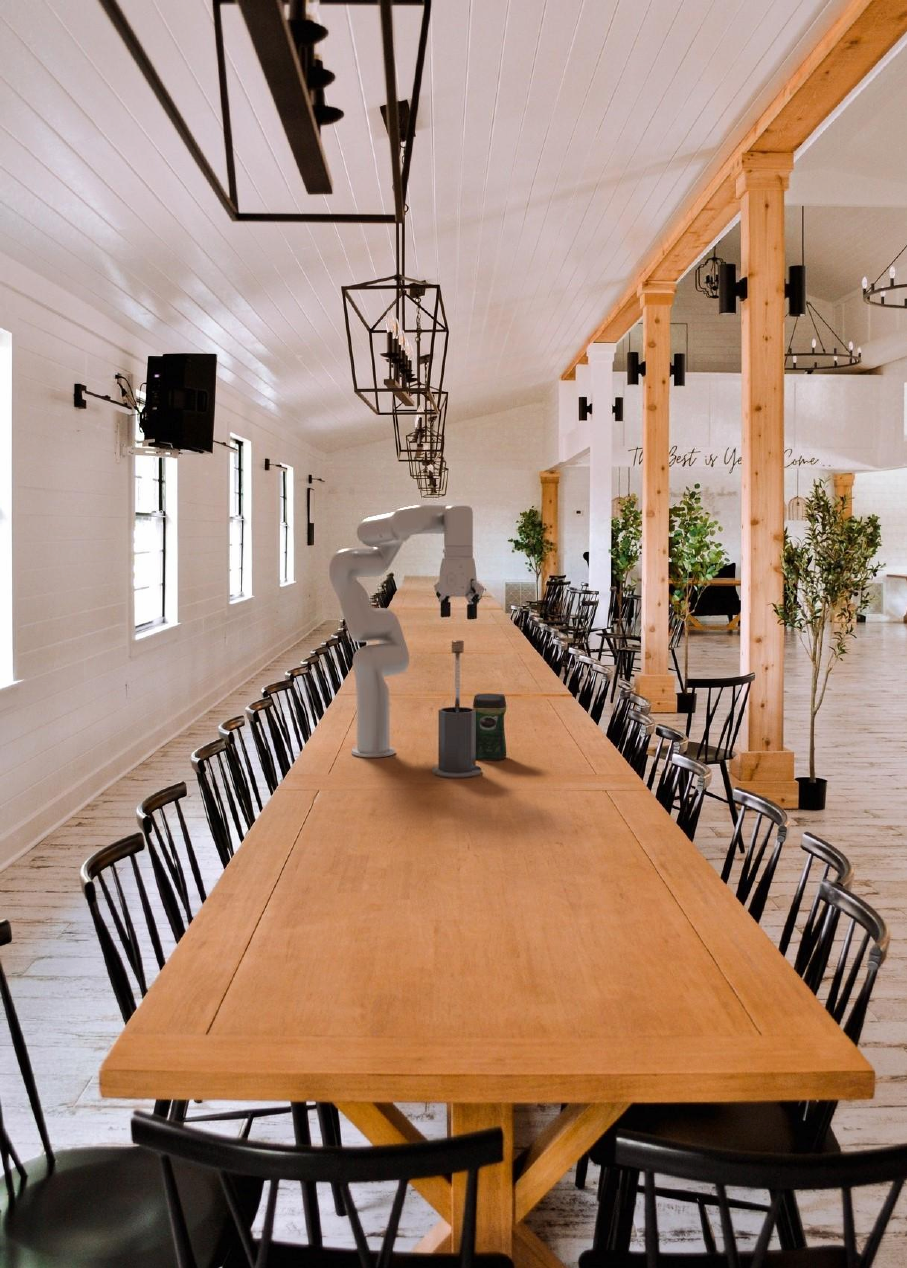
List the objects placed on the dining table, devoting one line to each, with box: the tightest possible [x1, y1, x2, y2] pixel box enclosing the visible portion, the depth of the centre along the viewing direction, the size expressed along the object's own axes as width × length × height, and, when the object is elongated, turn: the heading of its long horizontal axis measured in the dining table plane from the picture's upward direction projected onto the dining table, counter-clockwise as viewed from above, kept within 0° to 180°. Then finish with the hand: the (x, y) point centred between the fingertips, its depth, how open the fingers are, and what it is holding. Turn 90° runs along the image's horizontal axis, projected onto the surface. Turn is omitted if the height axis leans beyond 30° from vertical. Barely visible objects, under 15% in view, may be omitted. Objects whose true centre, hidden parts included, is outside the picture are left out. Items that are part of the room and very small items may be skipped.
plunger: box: [451, 639, 465, 713], centre depth 276 cm, size 7×7×22 cm
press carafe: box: [432, 706, 482, 779], centre depth 278 cm, size 14×13×17 cm
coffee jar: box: [472, 692, 507, 761], centre depth 295 cm, size 10×8×19 cm
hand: (458, 618), depth 274 cm, fingers open, 9 cm apart
